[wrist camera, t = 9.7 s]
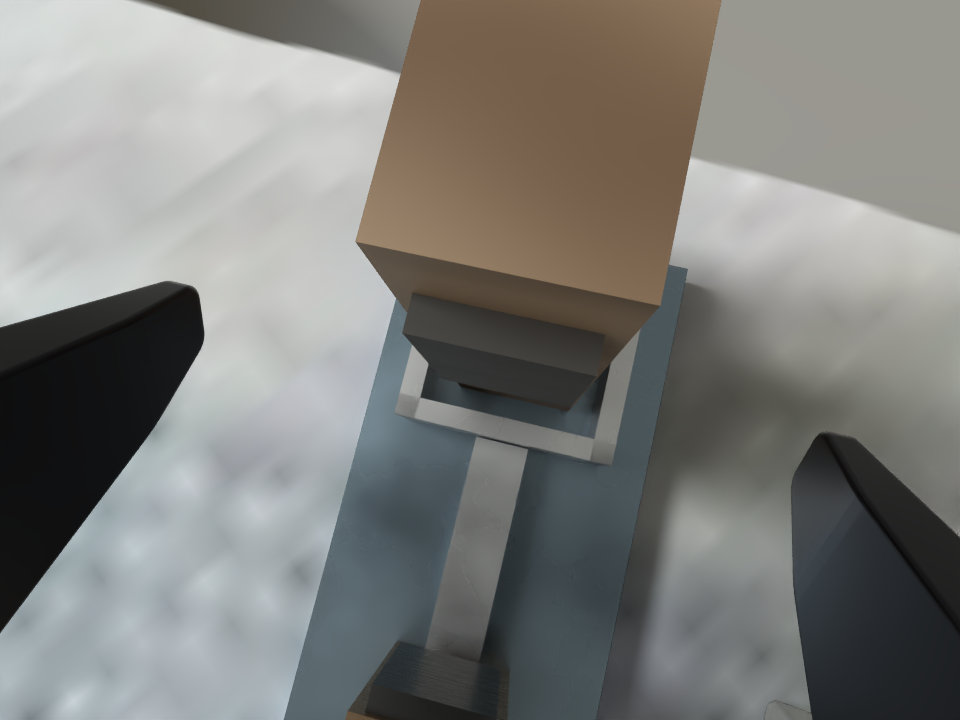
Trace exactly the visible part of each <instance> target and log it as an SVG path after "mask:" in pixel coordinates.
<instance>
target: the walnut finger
mask: <svg viewBox="0 0 960 720" xmlns="http://www.w3.org/2000/svg"><path fill="white" fill-rule="evenodd" d="M720 5H721V0H421V2H420V6H419V9H418V13H417V17H416V21H415V24H414V28H413V31H412V35H411V39H410V42H409V46H408V50H407V53H406V57H405V61H404V64H403V69H402V72H401V76H400V79H399V83H398V87H397V90H396V94H395V98H394V101H393V105H392V109H391V112H390V116H389V120H388V123H387V127H386V131H385V134H384V138H383V142H382V146H381V149H380V153H379V157H378V160H377V164H376V168H375V171H374V175H373V179H372V182H371V186H370V190H369V193H368V197H367V201H366V205H365V208H364V212H363V216H362V219H361V223H360V227H359V230H358V234H357V238H356V241H355V242H356V243H357V245H358V246H359V247H360V249H361V250H362V251H363V253H364V254H365V256H366V257H367V258H368V260H369V261H370V262H371V264H372V265H373V267H374V268H375V269H376V271H377V272H378V274H379V275H380V276H381V278H382V279H383V280H384V282H385V283H386V285H387V286H388V287H389V289H390V290H391V292H392V293H393V294H394V296H395V297H396V298H397V300H398V301H399V303H400V304H401V305H402V307H403V308H404V310H405V311H406V312H407V315H406V319H405V323H404V327H403V331H402V334H403V335H404V336H405V337H406V338H407V339H408V340H409V342H410V343H411V344H412V345H413V346H414V347H415V349H416V350H417V351H418V352H419V353H420V354H421V355H422V357H423V358H424V359H425V360H426V361H427V362H428V364H429V365H430V366H431V367H432V368H433V369H434V370H435V372H436V373H437V374H438V375H439V376H440V377H441V379H444V380H449V381H453V382H457V383H458V384H459V386H460V387H463V388H467V389H472V390H476V391H480V392H485V393H489V394H494V395H498V396H502V397H507V398H511V399H516V400H520V401H524V402H529V403H533V404H538V405H542V406H546V407H551V408H555V409H559V410H564V411H569V410H570V409H571V408H572V407H573V405H574V404H575V403H576V402H577V401H578V400H579V399H580V397H581V396H582V395H583V394H584V393H585V392H586V390H587V389H588V388H589V387H590V386H591V385H592V384H593V382H594V381H595V380H596V379H597V378H598V377H599V376H600V374H601V373H602V372H603V371H604V370H605V369H606V368H607V366H608V365H609V364H610V363H611V362H612V361H613V360H614V358H615V357H616V356H617V355H618V354H619V353H620V351H621V350H622V349H623V348H624V347H625V346H626V345H627V343H628V342H629V341H630V340H631V339H632V338H633V337H634V335H635V334H636V333H637V332H638V331H639V330H640V329H641V327H642V326H643V325H644V324H645V323H646V322H647V321H648V319H649V318H650V317H651V316H652V315H653V314H654V313H655V311H656V310H657V309H658V308H659V307H660V305H661V300H662V295H663V290H664V285H665V280H666V275H667V270H668V265H669V260H670V255H671V250H672V245H673V240H674V235H675V230H676V225H677V220H678V215H679V210H680V205H681V200H682V195H683V190H684V185H685V180H686V175H687V170H688V165H689V160H690V155H691V150H692V145H693V140H694V135H695V130H696V125H697V120H698V115H699V110H700V105H701V100H702V95H703V90H704V85H705V80H706V75H707V70H708V65H709V60H710V55H711V50H712V45H713V40H714V35H715V30H716V24H717V20H718V15H719V9H720Z"/></svg>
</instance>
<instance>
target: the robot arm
mask: <svg viewBox="0 0 960 720" xmlns="http://www.w3.org/2000/svg"><path fill="white" fill-rule="evenodd" d="M203 341H204V326H203V319H202V312H201V305H200V298H199V294H198V292H197V290H196V289H195V288H194V287H193V286H190V285H186V284H182V283H177V282H173V281H164V282H160V283H157V284H153V285H150V286H146V287H143V288H139V289H135V290H132V291H128V292H125V293H121V294H118V295H114V296H110V297H107V298H103V299H100V300H96V301H93V302H89V303H86V304H82V305H78V306H75V307H71V308H68V309H64V310H61V311H57V312H53V313H50V314H46V315H43V316H39V317H36V318H32V319H29V320H25V321H21V322H18V323H14V324H11V325H7V326H4V327H0V633H1V631H2V630H3V629H4V627H5V626H6V625H7V623H8V622H9V621H10V619H11V618H12V617H13V615H14V614H15V613H16V611H17V610H18V609H19V607H20V606H21V605H22V603H23V602H24V601H25V600H26V598H27V597H28V596H29V594H30V593H31V592H32V590H33V589H34V588H35V586H36V585H37V584H38V582H39V581H40V580H41V578H42V577H43V576H44V574H45V573H46V572H47V570H48V569H49V568H50V566H51V565H52V564H53V562H54V561H55V560H56V558H57V557H58V556H59V554H60V553H61V552H62V550H63V549H64V548H65V546H66V545H67V544H68V542H69V541H70V540H71V538H72V537H73V536H74V534H75V533H76V532H77V530H78V529H79V528H80V526H81V525H82V524H83V522H84V521H85V520H86V518H87V517H88V516H89V514H90V513H91V512H92V510H93V509H94V508H95V506H96V505H97V504H98V502H99V501H100V500H101V498H102V497H103V496H104V494H105V493H106V492H107V490H108V489H109V488H110V486H111V485H112V484H113V482H114V481H115V480H116V478H117V477H118V476H119V474H120V473H121V472H122V470H123V469H124V468H125V466H126V465H127V464H128V462H129V461H130V460H131V458H132V457H133V456H134V454H135V453H136V452H137V450H138V449H139V448H140V446H141V445H142V444H143V442H144V441H145V440H146V438H147V437H148V435H149V434H150V433H151V431H152V430H153V428H154V427H155V425H156V424H157V422H158V421H159V419H160V418H161V416H162V414H163V413H164V411H165V409H166V408H167V406H168V404H169V403H170V401H171V399H172V397H173V396H174V394H175V392H176V391H177V389H178V387H179V385H180V384H181V382H182V380H183V379H184V377H185V375H186V374H187V372H188V370H189V368H190V367H191V365H192V363H193V362H194V360H195V358H196V356H197V355H198V353H199V351H200V350H201V347H202V345H203ZM791 505H792V557H793V586H794V595H795V604H796V611H797V618H798V625H799V631H800V638H801V645H802V652H803V659H804V666H805V672H806V679H807V686H808V693H809V700H810V707H811V714H812V720H960V537H959V536H958V535H957V534H956V533H955V532H954V531H953V530H952V529H951V528H949V527H948V526H947V525H946V524H945V523H944V522H943V521H942V520H941V519H940V518H939V517H938V516H937V515H936V514H935V513H934V512H933V511H931V510H930V509H929V508H928V507H927V506H926V505H925V504H924V503H923V502H922V501H921V500H920V499H919V498H918V497H917V496H916V495H915V494H914V493H912V492H911V491H910V490H909V489H908V488H907V487H906V486H905V485H904V484H903V483H902V482H901V481H900V480H899V479H898V478H897V477H896V476H894V475H893V474H892V473H891V472H890V471H889V470H888V469H887V468H886V467H885V466H884V465H883V464H882V463H881V462H880V461H879V460H878V459H876V458H875V457H874V456H873V455H872V454H871V453H870V452H869V451H868V450H867V449H866V448H865V447H864V446H863V445H862V444H861V443H860V442H858V441H857V440H856V439H855V438H853V437H850V436H845V435H841V434H836V433H832V432H828V431H825V432H822V433H820V434H819V435H817V437H816V438H815V439H814V441H813V443H812V444H811V446H810V448H809V449H808V451H807V453H806V455H805V456H804V458H803V460H802V461H801V463H800V465H799V467H798V468H797V470H796V472H795V474H794V477H793V480H792V486H791Z"/></svg>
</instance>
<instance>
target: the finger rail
mask: <svg viewBox="0 0 960 720" xmlns="http://www.w3.org/2000/svg"><path fill="white" fill-rule="evenodd" d="M687 270H688V269H685V268H681V267H676V266H671V265H668V270H667V275H666V280H665V285H664V290H663V295H662V300H661V305H660V307H659V308H658V309H657V310H656V311H655V313H654V314H653V315H652V316H651V317H650V318H649V319H648V321H647V322H646V323H645V324H644V325H643V326H642V327H641V329H640V330H639V331H638V332H637V333H636V334H635V335H634V337H633V338H632V339H631V340H630V341H629V342H628V343H627V345H626V346H625V347H624V348H623V349H622V350H621V351H620V353H619V354H618V355H617V356H616V357H615V358H614V360H613V361H612V362H611V363H610V364H609V365H608V366H607V368H606V369H605V370H604V371H603V372H602V373H601V374H600V376H599V377H598V378H597V379H596V380H595V381H594V382H593V384H592V385H591V386H590V387H589V388H588V389H587V390H586V392H585V393H584V394H583V395H582V396H581V397H580V399H579V400H578V401H577V402H576V403H575V404H574V405H573V407H572V408H571V409H570V410H569V411H564V410H559V409H555V408H551V407H546V406H542V405H538V404H533V403H529V402H524V401H520V400H516V399H511V398H507V397H502V396H498V395H494V394H489V393H485V392H480V391H476V390H472V389H467V388H463V387H460V386H459V384H458V383H457V382H453V381H449V380H444V379H441V377H440V376H439V375H438V374H437V373H436V372H435V370H434V369H433V368H432V367H431V366H430V365H429V364H428V362H427V361H426V360H425V359H424V358H423V357H422V355H421V354H420V353H419V352H418V351H417V350H416V349H415V347H414V346H413V345H412V344H411V343H410V342H409V340H408V339H407V338H406V337H405V336H404V335H403V334H402V331H403V327H404V323H405V319H406V315H407V312H406V311H405V310H404V308H403V307H402V305H401V304H400V303H399V301H398V300H397V298H396V302H395V305H394V309H393V313H392V317H391V320H390V324H389V328H388V331H387V335H386V339H385V343H384V346H383V350H382V354H381V358H380V361H379V365H378V369H377V373H376V376H375V380H374V384H373V388H372V391H371V395H370V399H369V403H368V406H367V410H366V414H365V418H364V421H363V425H362V429H361V433H360V436H359V440H358V444H357V448H356V451H355V455H354V459H353V463H352V466H351V470H350V474H349V478H348V481H347V485H346V489H345V493H344V496H343V500H342V504H341V508H340V511H339V515H338V519H337V523H336V526H335V530H334V534H333V538H332V541H331V545H330V549H329V553H328V556H327V560H326V564H325V568H324V571H323V575H322V579H321V583H320V586H319V590H318V594H317V598H316V601H315V605H314V609H313V613H312V616H311V620H310V624H309V628H308V631H307V635H306V639H305V643H304V646H303V650H302V654H301V657H300V661H299V665H298V669H297V672H296V676H295V680H294V684H293V687H292V691H291V695H290V699H289V702H288V706H287V710H286V714H285V717H284V720H596V717H597V712H598V707H599V702H600V697H601V692H602V687H603V682H604V677H605V672H606V668H607V663H608V658H609V653H610V648H611V643H612V638H613V633H614V628H615V623H616V619H617V614H618V609H619V604H620V599H621V594H622V589H623V584H624V579H625V574H626V569H627V565H628V560H629V555H630V550H631V545H632V540H633V535H634V530H635V525H636V520H637V516H638V511H639V506H640V501H641V496H642V491H643V486H644V481H645V476H646V471H647V466H648V462H649V457H650V452H651V447H652V442H653V437H654V432H655V427H656V422H657V417H658V412H659V408H660V403H661V398H662V393H663V388H664V383H665V378H666V373H667V368H668V363H669V359H670V354H671V349H672V344H673V339H674V334H675V329H676V324H677V319H678V314H679V309H680V305H681V300H682V295H683V290H684V285H685V280H686V275H687Z"/></svg>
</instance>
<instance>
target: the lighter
mask: <svg viewBox="0 0 960 720" xmlns="http://www.w3.org/2000/svg"><path fill="white" fill-rule="evenodd" d="M764 720H812V714H811V713H808V712H805V711H803V710H800V709H797V708H795V707H792V706H789V705H786V704H784V703H781V702H778V701H776V700H775V701H773V702H771V703H769V704H768V706H767V710H766V714H765V717H764Z"/></svg>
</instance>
